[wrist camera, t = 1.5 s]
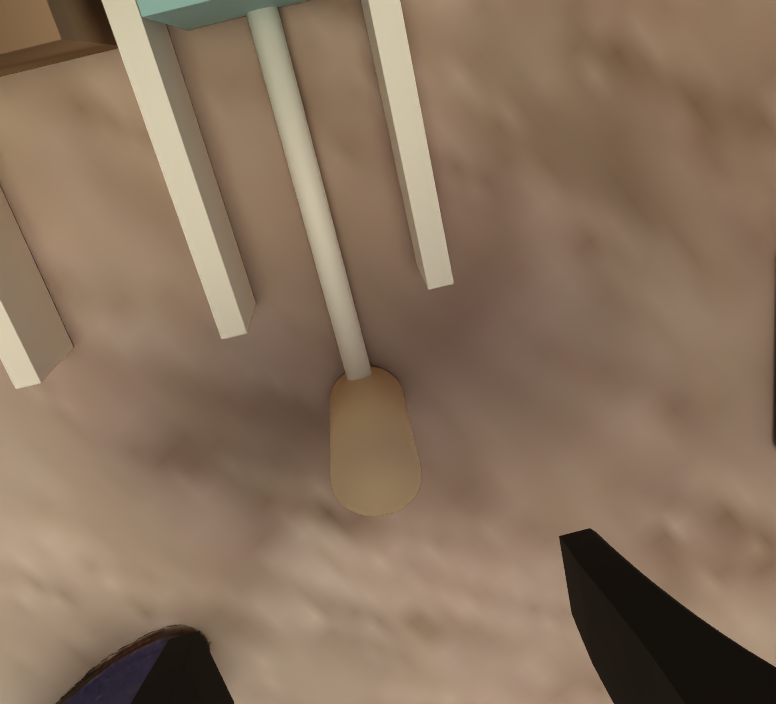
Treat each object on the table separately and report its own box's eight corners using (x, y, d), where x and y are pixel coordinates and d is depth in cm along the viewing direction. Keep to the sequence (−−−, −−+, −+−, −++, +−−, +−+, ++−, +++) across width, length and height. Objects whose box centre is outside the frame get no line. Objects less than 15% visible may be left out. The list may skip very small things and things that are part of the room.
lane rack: (319, -352, 14) (317, -431, 12) (438, 259, 20) (453, 283, 18) (-219, -218, 14) (-321, -271, 12) (51, 352, 20) (16, 389, 18)
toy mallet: (296, -199, 15) (286, -301, 11) (433, 417, 22) (458, 498, 18) (128, -158, 15) (55, -243, 11) (316, 445, 22) (314, 532, 18)
